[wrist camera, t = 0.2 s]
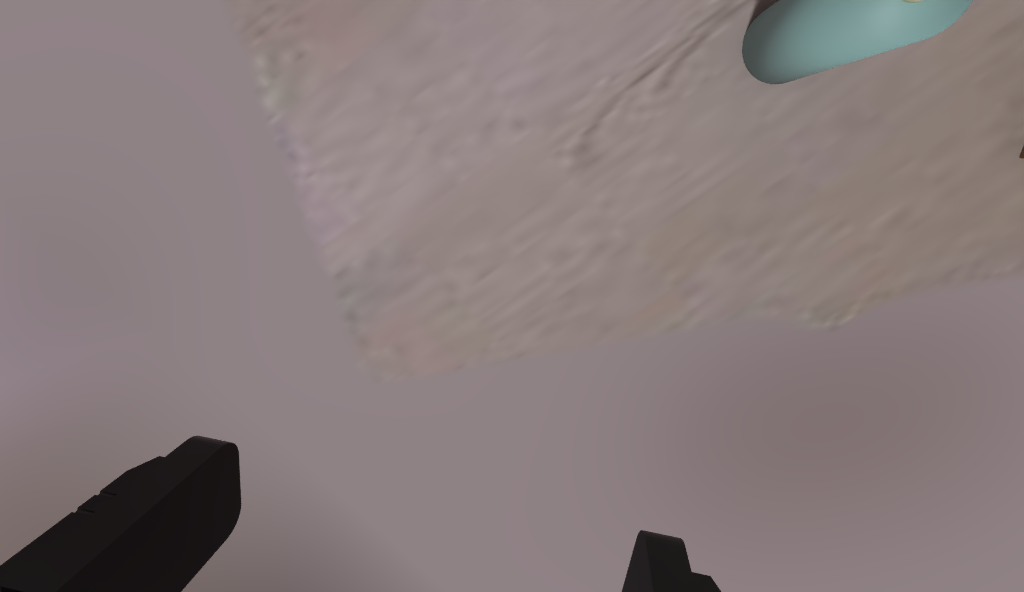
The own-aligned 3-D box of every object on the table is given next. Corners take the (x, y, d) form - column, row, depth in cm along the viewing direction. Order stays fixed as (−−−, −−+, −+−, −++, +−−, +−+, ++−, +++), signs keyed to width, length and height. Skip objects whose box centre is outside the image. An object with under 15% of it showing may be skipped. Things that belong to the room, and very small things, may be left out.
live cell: (752, -1, 31) (887, -111, 18) (829, 7, 31) (1024, -100, 18) (734, 79, 32) (847, 31, 19) (808, 88, 32) (974, 44, 19)
